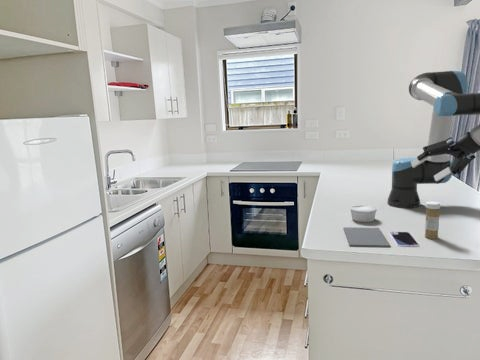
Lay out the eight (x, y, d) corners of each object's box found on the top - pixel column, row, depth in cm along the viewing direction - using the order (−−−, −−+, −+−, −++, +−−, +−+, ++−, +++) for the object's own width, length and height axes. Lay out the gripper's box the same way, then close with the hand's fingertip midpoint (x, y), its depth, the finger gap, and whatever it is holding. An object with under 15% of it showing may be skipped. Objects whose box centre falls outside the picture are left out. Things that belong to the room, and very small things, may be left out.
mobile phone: (397, 244, 126) (388, 231, 141) (397, 247, 126) (388, 233, 141) (420, 245, 125) (409, 231, 139) (420, 247, 125) (409, 233, 139)
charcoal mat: (343, 228, 148) (343, 227, 148) (378, 229, 145) (378, 227, 145) (349, 246, 128) (349, 244, 128) (390, 247, 126) (390, 245, 126)
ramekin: (362, 214, 167) (362, 203, 166) (381, 220, 157) (382, 208, 156) (344, 218, 162) (344, 207, 161) (363, 224, 152) (363, 212, 151)
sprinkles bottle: (426, 234, 137) (428, 200, 134) (439, 236, 134) (441, 202, 131) (422, 237, 133) (424, 203, 131) (436, 240, 130) (438, 204, 128)
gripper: (458, 130, 117) (404, 166, 132) (501, 161, 126) (447, 191, 141) (450, 116, 122) (399, 151, 136) (493, 146, 131) (441, 177, 146)
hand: (423, 172), depth 139 cm, fingers open, 13 cm apart
